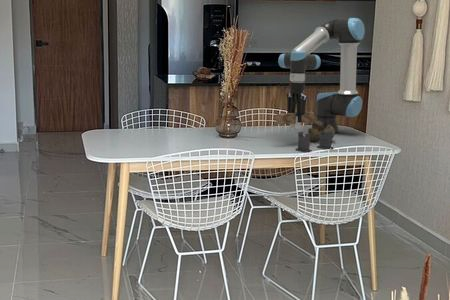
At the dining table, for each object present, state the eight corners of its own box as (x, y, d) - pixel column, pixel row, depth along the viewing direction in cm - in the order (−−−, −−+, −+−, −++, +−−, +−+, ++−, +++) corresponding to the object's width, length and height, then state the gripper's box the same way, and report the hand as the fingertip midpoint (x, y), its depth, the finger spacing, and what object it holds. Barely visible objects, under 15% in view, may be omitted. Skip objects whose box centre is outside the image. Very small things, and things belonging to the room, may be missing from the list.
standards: (323, 146, 299) (324, 129, 297) (333, 149, 293) (334, 131, 291) (295, 150, 289) (296, 132, 287) (304, 152, 283) (305, 134, 281)
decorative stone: (320, 134, 302) (303, 119, 312) (315, 152, 308) (298, 137, 318) (344, 130, 310) (326, 116, 320) (338, 148, 316) (321, 133, 326)
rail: (309, 121, 308) (310, 111, 308) (314, 122, 306) (314, 112, 305) (276, 123, 297) (276, 113, 296) (280, 124, 294) (280, 114, 293)
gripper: (280, 80, 302) (279, 126, 306) (302, 83, 288) (300, 130, 293) (292, 80, 306) (290, 125, 310) (313, 82, 292) (311, 129, 297)
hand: (295, 128), depth 302 cm, fingers closed on rail, 3 cm apart
